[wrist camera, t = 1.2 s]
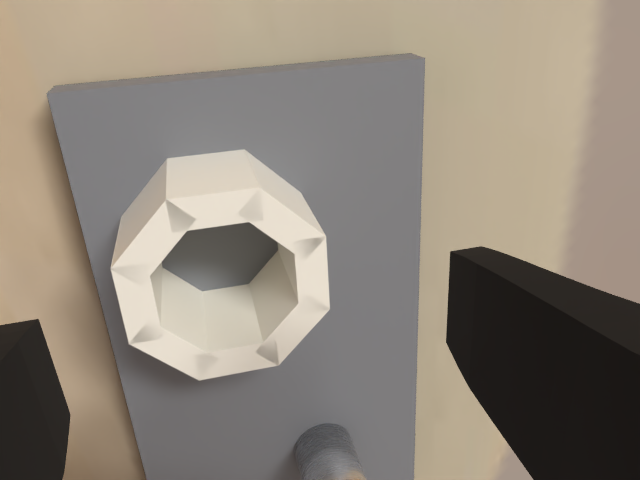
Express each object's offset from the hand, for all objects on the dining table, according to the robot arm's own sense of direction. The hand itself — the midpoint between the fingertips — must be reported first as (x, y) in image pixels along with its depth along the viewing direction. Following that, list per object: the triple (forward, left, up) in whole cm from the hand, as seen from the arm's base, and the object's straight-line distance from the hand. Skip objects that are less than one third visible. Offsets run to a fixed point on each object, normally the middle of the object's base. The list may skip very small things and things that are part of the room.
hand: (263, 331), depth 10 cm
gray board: (-5, -5, -10) cm, 12 cm away
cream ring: (-2, -1, -9) cm, 9 cm away
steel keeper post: (-7, -10, -9) cm, 15 cm away
